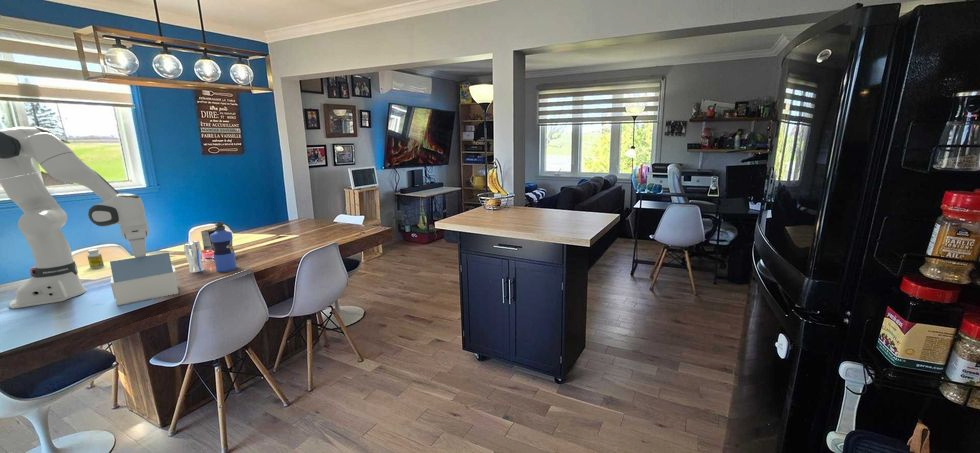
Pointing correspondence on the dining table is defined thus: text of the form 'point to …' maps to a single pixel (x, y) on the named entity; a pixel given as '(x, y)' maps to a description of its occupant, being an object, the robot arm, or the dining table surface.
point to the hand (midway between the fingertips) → (142, 262)
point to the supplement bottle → (95, 258)
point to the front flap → (141, 267)
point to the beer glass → (194, 256)
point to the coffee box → (207, 239)
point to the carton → (145, 288)
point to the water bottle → (223, 249)
